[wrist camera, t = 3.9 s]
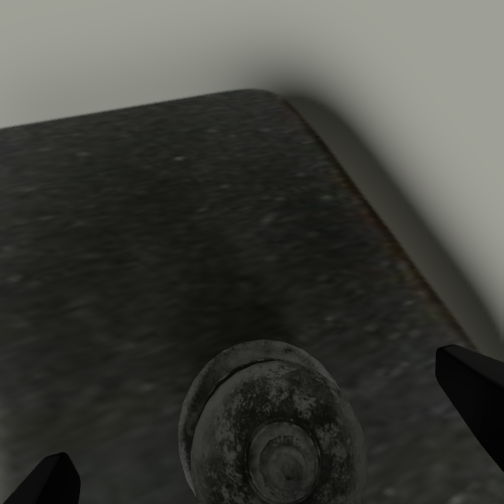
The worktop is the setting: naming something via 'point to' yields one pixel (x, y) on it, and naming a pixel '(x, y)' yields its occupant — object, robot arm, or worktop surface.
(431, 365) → the worktop surface
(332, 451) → the dark chess piece
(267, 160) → the worktop surface
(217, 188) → the worktop surface
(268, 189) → the worktop surface
